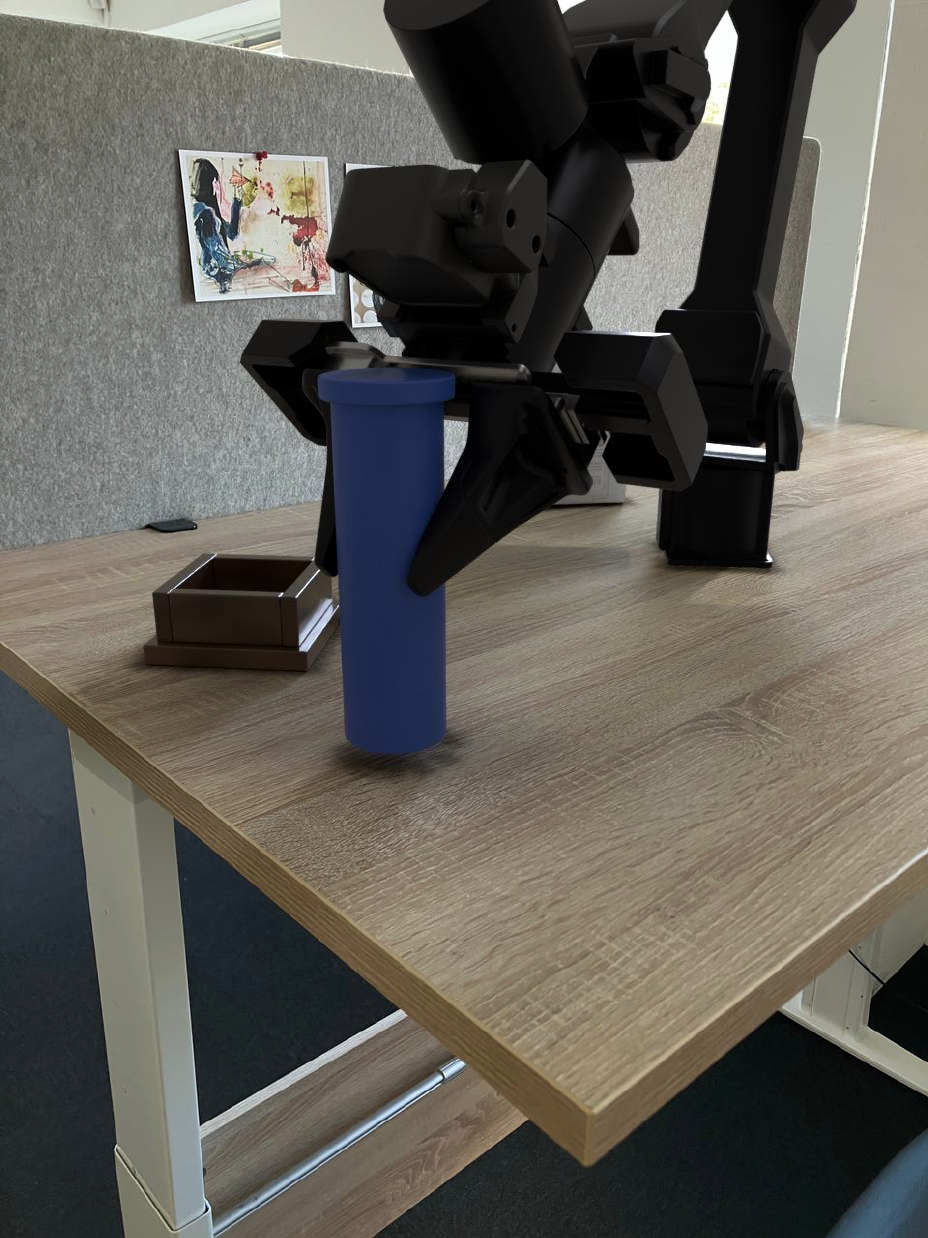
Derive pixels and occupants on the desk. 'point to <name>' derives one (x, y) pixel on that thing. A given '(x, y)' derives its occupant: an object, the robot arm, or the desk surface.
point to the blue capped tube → (388, 552)
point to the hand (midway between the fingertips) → (367, 580)
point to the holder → (243, 613)
